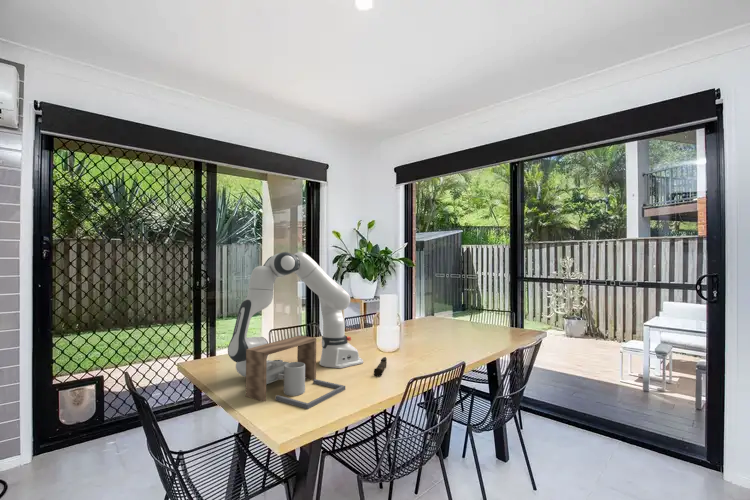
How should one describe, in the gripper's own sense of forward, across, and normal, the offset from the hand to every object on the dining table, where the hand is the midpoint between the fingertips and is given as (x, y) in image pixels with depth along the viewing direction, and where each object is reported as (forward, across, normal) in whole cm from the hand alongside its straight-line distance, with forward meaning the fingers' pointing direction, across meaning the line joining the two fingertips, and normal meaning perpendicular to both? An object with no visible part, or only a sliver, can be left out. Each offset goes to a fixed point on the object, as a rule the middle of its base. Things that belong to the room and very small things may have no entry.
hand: (289, 376), depth 155 cm
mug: (+3, 0, +5) cm, 6 cm away
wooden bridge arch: (-4, 0, +5) cm, 6 cm away
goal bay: (+11, 0, +5) cm, 12 cm away
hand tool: (+19, +42, +6) cm, 47 cm away
